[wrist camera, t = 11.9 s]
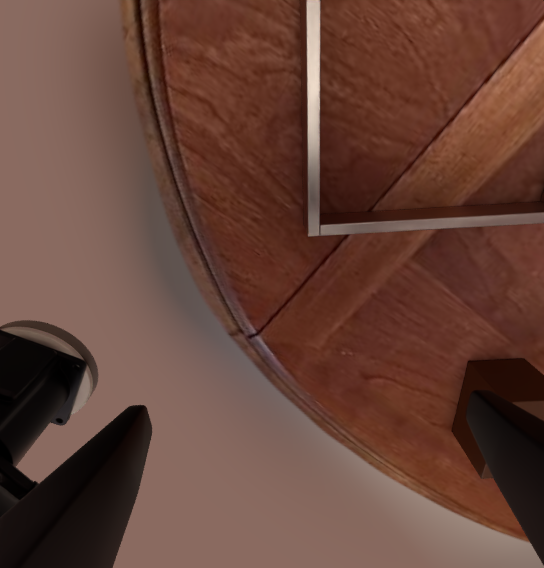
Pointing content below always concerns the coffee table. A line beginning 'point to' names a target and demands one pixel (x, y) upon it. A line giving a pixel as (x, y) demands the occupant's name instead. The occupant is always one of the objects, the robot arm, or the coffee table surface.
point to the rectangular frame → (375, 219)
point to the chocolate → (506, 383)
